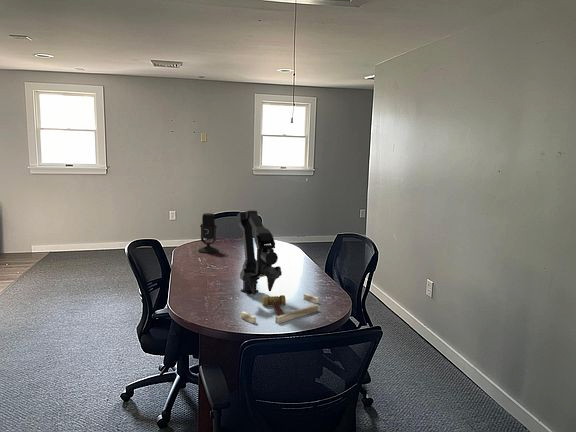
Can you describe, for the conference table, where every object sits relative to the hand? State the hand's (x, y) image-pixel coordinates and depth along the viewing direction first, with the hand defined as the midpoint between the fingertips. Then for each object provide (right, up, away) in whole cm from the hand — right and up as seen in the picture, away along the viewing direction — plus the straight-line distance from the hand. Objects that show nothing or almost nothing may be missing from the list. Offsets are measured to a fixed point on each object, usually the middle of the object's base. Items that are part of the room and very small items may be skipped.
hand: (262, 293), depth 208 cm
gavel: (+7, -7, -10) cm, 14 cm away
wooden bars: (+11, -6, -11) cm, 17 cm away
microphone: (-42, +11, +99) cm, 108 cm away
